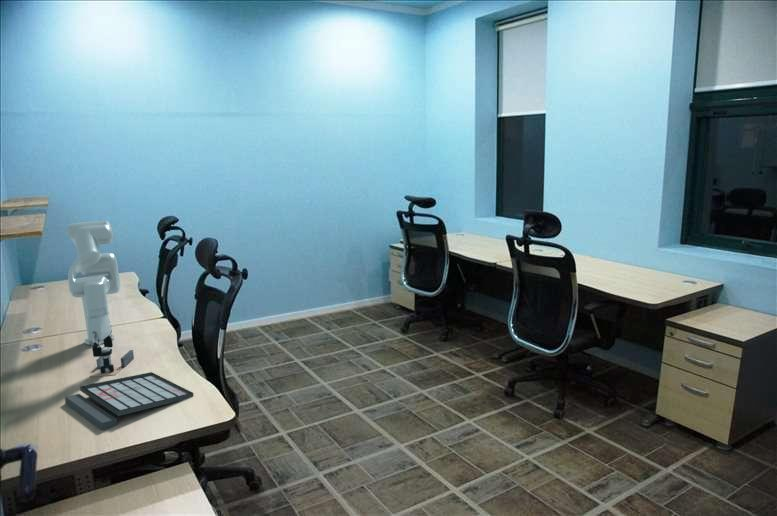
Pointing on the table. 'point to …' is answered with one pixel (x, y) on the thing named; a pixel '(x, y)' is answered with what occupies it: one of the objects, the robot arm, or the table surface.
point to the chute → (124, 360)
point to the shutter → (124, 397)
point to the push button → (106, 361)
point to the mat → (105, 373)
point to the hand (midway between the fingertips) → (103, 351)
